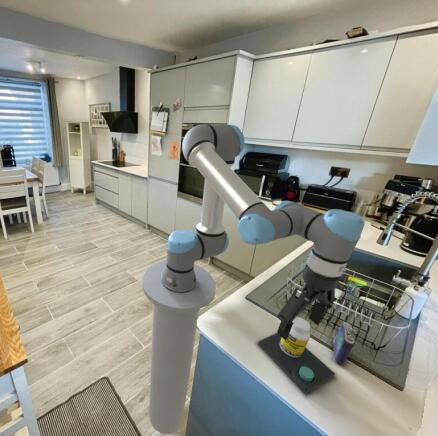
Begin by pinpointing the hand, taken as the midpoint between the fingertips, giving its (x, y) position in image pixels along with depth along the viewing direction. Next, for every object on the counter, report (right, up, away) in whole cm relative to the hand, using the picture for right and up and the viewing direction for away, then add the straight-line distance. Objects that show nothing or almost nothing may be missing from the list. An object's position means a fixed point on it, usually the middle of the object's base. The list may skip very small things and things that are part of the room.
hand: (298, 328), depth 70 cm
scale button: (-1, -11, -5) cm, 12 cm away
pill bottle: (0, -8, +4) cm, 9 cm away
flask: (+15, -10, +4) cm, 19 cm away
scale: (0, -10, +2) cm, 10 cm away
